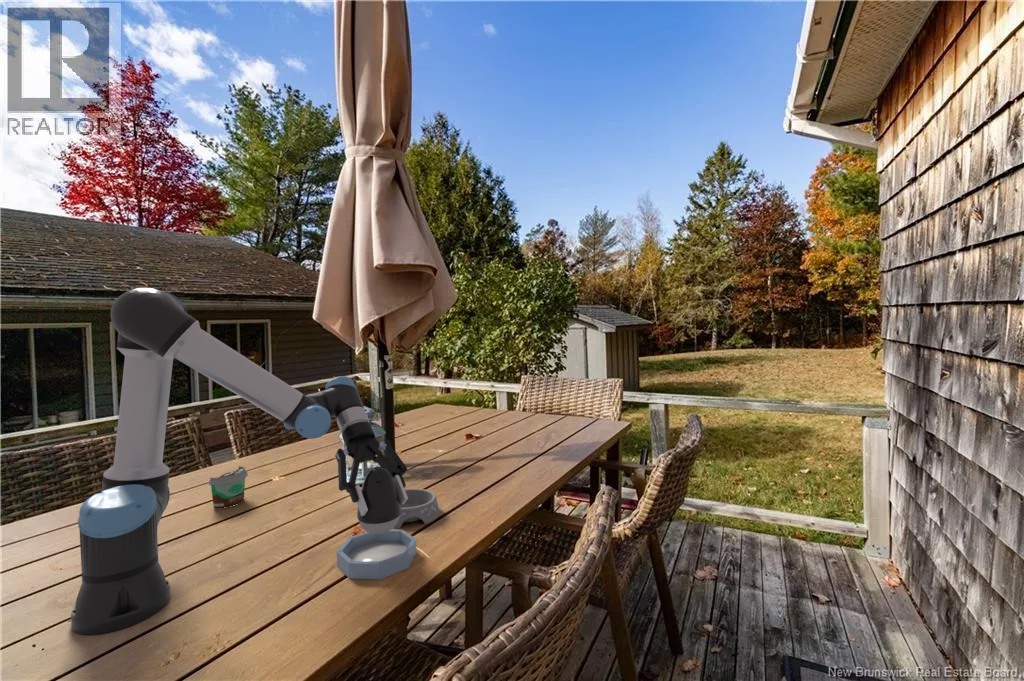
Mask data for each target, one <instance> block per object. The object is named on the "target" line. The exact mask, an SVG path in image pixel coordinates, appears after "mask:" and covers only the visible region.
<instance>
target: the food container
mask: <svg viewBox="0 0 1024 681" xmlns="http://www.w3.org/2000/svg"><path fill="white" fill-rule="evenodd" d="M248 475H249V474H248V471H247V469H246V467H245V466H242V465H241V466H238V468H237V469H235V470H234V471H229V472H226V473H224V474H221V475H220V476H218V477H210V478H209V482H208V485H209V486H210V488H211V489H210V490H211V496H212V504H213V509H214V508H224V507H229V508H231V507H230V506H233V505H236V504H239V503H241V502H242V501H243V500H244V501H245V489H246V478H247V477H248ZM244 501H243V502H244ZM243 502H242V503H243ZM242 503H241V504H242ZM239 505H240V504H239ZM236 506H237V505H236ZM233 507H234V506H233ZM224 509H225V508H224Z"/></svg>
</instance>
